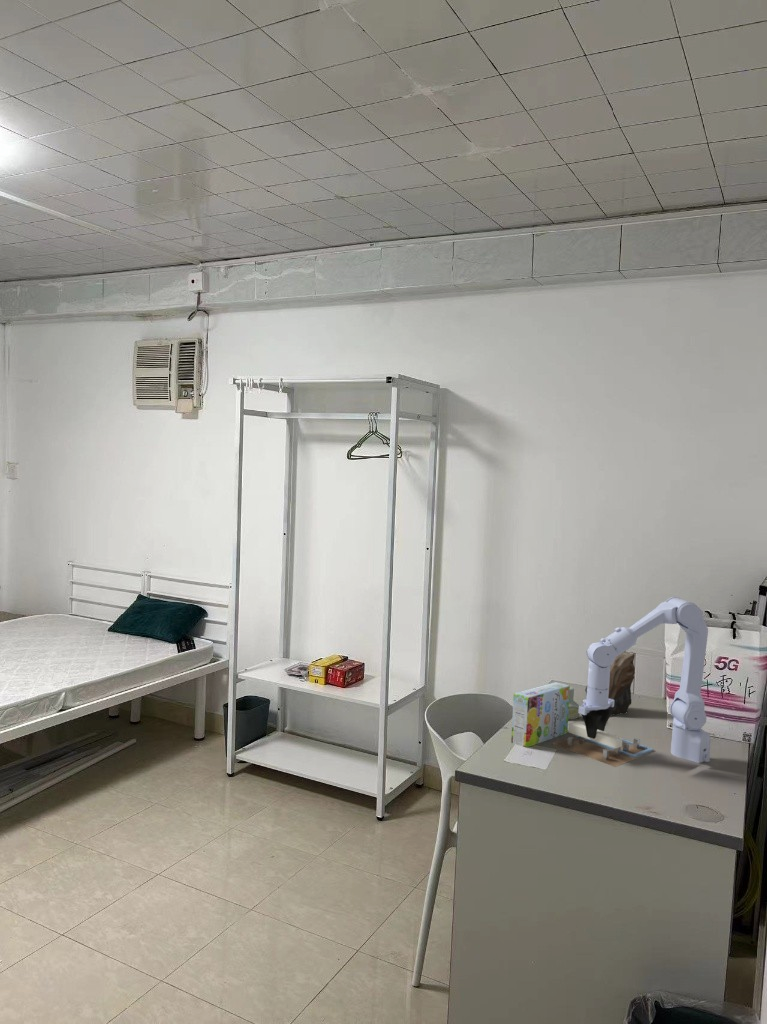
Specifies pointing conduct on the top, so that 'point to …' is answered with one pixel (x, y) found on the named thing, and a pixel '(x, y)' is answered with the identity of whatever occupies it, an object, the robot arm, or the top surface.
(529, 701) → the snack box
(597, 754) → the board
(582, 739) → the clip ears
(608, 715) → the robot arm
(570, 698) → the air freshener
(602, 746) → the blue bezel
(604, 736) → the white rectangular bar
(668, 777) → the top surface
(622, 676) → the brown rock
